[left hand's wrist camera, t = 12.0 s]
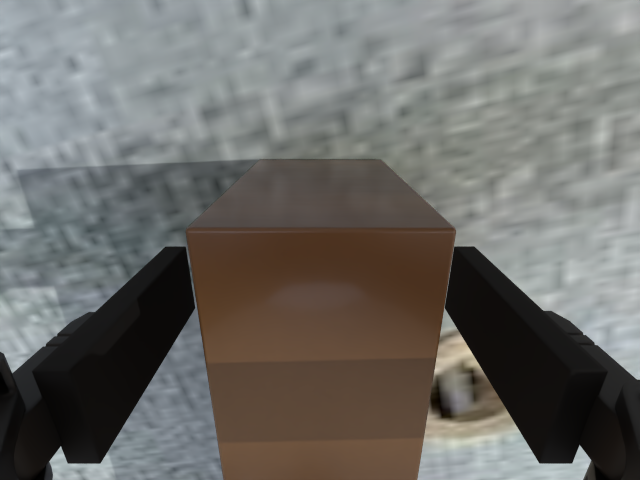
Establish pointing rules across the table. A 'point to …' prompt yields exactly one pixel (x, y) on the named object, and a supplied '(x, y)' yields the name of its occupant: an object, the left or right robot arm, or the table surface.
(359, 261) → the beam
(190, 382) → the table surface
